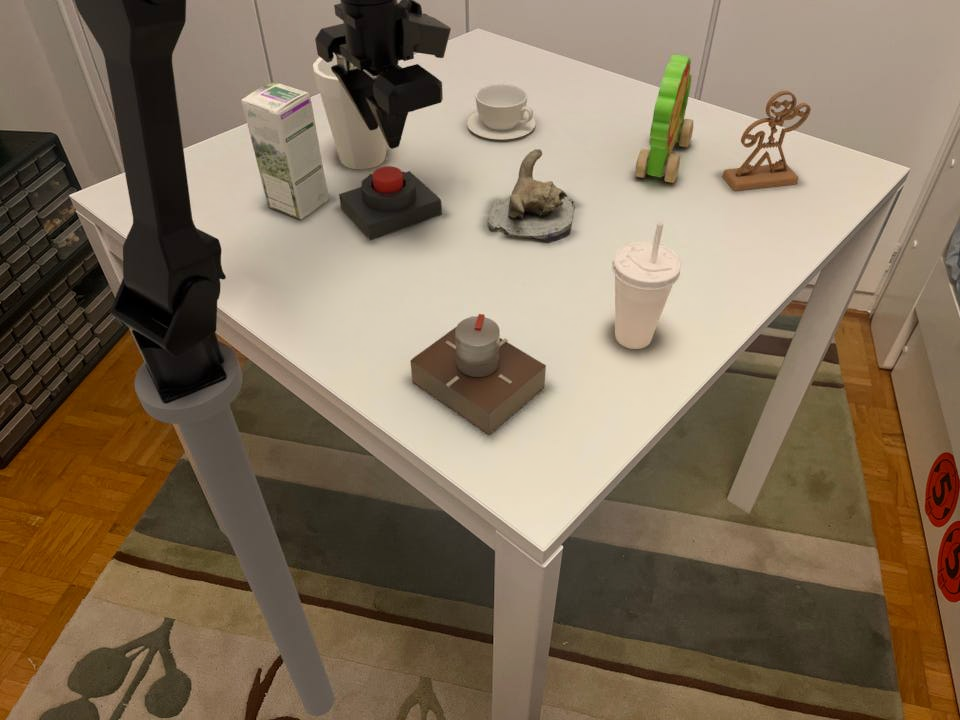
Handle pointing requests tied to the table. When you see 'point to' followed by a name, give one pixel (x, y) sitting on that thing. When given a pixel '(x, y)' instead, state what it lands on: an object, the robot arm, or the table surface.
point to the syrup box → (286, 148)
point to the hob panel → (479, 382)
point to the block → (389, 206)
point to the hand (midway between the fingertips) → (383, 138)
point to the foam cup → (347, 122)
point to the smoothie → (642, 288)
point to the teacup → (501, 112)
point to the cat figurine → (533, 207)
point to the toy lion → (668, 122)
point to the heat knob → (477, 346)
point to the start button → (387, 179)
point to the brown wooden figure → (770, 173)
